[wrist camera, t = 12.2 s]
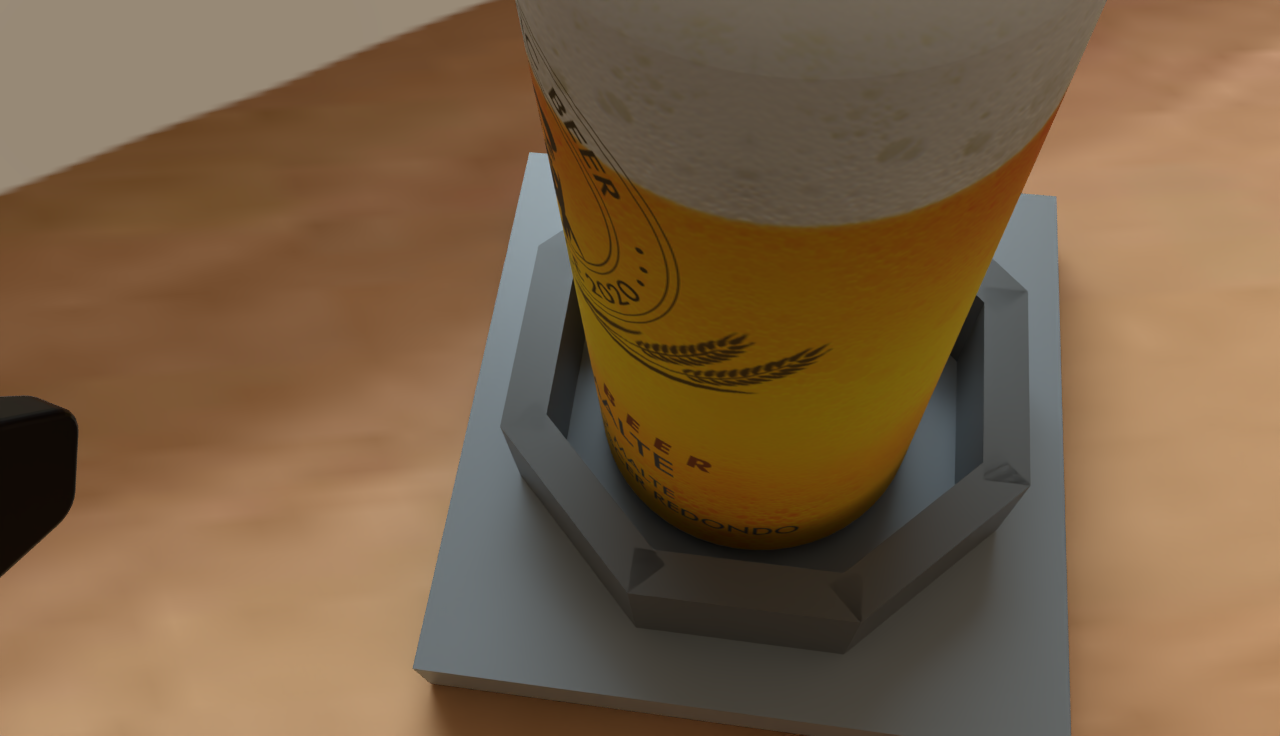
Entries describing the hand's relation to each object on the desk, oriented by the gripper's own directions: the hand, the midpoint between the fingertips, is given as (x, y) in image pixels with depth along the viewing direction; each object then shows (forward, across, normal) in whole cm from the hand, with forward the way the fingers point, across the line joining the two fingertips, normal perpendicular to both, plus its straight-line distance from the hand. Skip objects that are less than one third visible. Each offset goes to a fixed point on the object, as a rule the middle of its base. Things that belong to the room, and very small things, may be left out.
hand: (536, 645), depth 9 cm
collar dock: (+15, 0, +4) cm, 16 cm away
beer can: (+14, 0, +3) cm, 14 cm away
